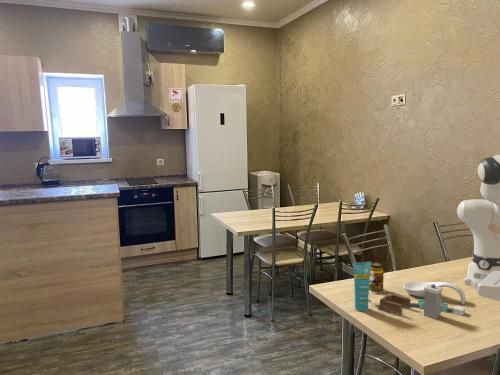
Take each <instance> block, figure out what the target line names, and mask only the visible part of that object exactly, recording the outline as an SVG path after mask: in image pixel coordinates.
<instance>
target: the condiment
mask: <svg viewBox="0 0 500 375" xmlns="http://www.w3.org/2000/svg"><path fill="white" fill-rule="evenodd" d="M383 269H384V268H383V264H382V263H380V262H371V270H370V271H371V272H373V273H374V274H373V276H374V281H373V282H372V283H371V284H370V285H369V290H370V291H372V292H371V293H373V294H374V295H375V294H382V293H385V292H388V290H387V289H385V288H384V280H385V278H384V270H383ZM370 291H369V292H370Z"/></svg>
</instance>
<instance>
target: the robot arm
mask: <svg viewBox="0 0 500 375" xmlns="http://www.w3.org/2000/svg"><path fill="white" fill-rule="evenodd" d="M477 175H478V177H479V180H480V181H481V184H480V188H479V191H480V194H481V196H482V197H483V198H484V199H479V198H477V199H474V198H473V199H465V200H462V201H461V202H460V203H459V204H458V206H457V208H456V215H457V217H458V218H459V220H460V221H461V222H463V223H464V224H465V225H466V226H467V227H468V228H469V230H470V231H471V234H472V236H473V252H472V255H471V256H472V257H471V258H472V261H471V262H469V264H468V265H467V266H468V268H467V276H465V277H463V281H464V284H465V285H466V286H468V287H471V288H473V289H475V290H476V294H477V295H479V296H480V297H482V298H485V299H489V300H493V301H498V302H500V234H499V233H496V232H495V231H492V230H490V229H489V225H490V226H491V225H493V226H500V154H496V155H493V156H488V157H484V158H483V159H481V160H480V161H479V163H478V166H477Z"/></svg>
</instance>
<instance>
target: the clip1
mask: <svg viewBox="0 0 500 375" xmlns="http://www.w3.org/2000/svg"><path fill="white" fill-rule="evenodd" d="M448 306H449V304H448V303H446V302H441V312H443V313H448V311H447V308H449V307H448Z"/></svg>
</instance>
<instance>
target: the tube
mask: <svg viewBox="0 0 500 375" xmlns="http://www.w3.org/2000/svg"><path fill="white" fill-rule="evenodd" d="M371 263H372V261H371V260H370V261H365V262H353V263H352V267H353V269H352V270H353V282H354V285H353V286H354V309H355V310H356V311H359V312H366V311H368V309H369V308H368V307H369V303H368V299H369V292H370V291H369V281H370V270H371Z"/></svg>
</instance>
